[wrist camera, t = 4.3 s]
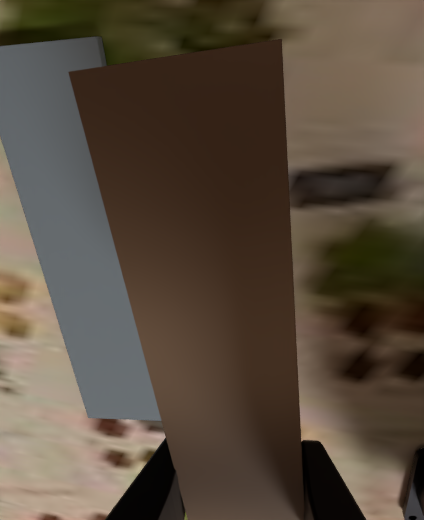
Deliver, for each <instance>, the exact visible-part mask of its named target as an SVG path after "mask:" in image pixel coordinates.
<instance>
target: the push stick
mask: <svg viewBox="0 0 424 520" xmlns="http://www.w3.org/2000/svg"><path fill="white" fill-rule="evenodd" d="M68 73H69V77H70V81H71V84H72V88H73V92H74V96H75V99H76V103H77V107H78V111H79V114H80V118H81V122H82V126H83V129H84V133H85V137H86V141H87V144H88V148H89V152H90V155H91V159H92V163H93V167H94V170H95V174H96V178H97V182H98V185H99V189H100V193H101V197H102V200H103V204H104V208H105V212H106V215H107V219H108V223H109V227H110V230H111V234H112V238H113V241H114V245H115V249H116V253H117V256H118V260H119V264H120V268H121V271H122V275H123V279H124V283H125V286H126V290H127V294H128V298H129V301H130V305H131V309H132V313H133V316H134V320H135V324H136V327H137V331H138V335H139V339H140V342H141V346H142V350H143V354H144V357H145V361H146V365H147V369H148V372H149V376H150V380H151V384H152V387H153V391H154V395H155V399H156V402H157V406H158V410H159V414H160V417H161V421H162V425H163V428H164V432H165V436H166V440H167V443H168V447H169V451H170V455H171V458H172V462H173V466H174V469H175V470H176V472H177V477H178V482H179V488H180V492H181V496H182V500H183V503H184V507H185V511H186V514H187V518H188V520H304V490H303V470H302V449H301V428H300V408H299V387H298V366H297V346H296V325H295V304H294V284H293V263H292V242H291V222H290V201H289V180H288V160H287V139H286V118H285V98H284V77H283V56H282V39H278V40H272V41H265V42H258V43H252V44H245V45H239V46H232V47H226V48H219V49H213V50H206V51H200V52H193V53H187V54H180V55H174V56H167V57H161V58H154V59H148V60H141V61H135V62H128V63H122V64H115V65H109V66H102V67H96V68H89V69H83V70H76V71H70V72H68Z"/></svg>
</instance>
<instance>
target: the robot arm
mask: <svg viewBox="0 0 424 520" xmlns="http://www.w3.org/2000/svg"><path fill="white" fill-rule="evenodd" d="M301 449H302V470H303V490H304V520H366V518H365V517H364V515H363V513H362V512H361V510H360V508H359V506H358V505H357V503H356V501H355V500H354V498H353V496H352V494H351V493H350V491H349V489H348V488H347V486H346V484H345V482H344V481H343V479H342V477H341V476H340V474H339V472H338V471H337V469H336V467H335V465H334V464H333V462H332V460H331V459H330V457H329V455H328V453H327V452H326V450H325V448H324V447H323V445H322V444H321V442H319V441H313V440H303V441H302V442H301ZM403 516H404V519H405V520H424V448H422V449H419V450H417V451H416V453H415V457H414V462H413V466H412V471H411V475H410V479H409V484H408V488H407V493H406V497H405V502H404V506H403ZM184 517H185V507H184V503H183V500H182V496H181V492H180V488H179V482H178V477H177V472H176V470H175V469H174V466H173V462H172V458H171V455H170V451H169V447H168V443H167V440H166V438H165V439H164V441H163V442H162V443H161V445H160V446H159V447H158V449H157V450H156V452H155V453H154V454H153V456H152V457H151V458H150V460H149V461H148V462H147V464H146V465H145V466H144V468H143V469H142V470H141V472H140V473H139V474H138V476H137V477H136V478H135V480H134V481H133V482H132V484H131V485H130V487H129V488H128V489H127V491H126V492H125V493H124V495H123V496H122V497H121V499H120V500H119V501H118V503H117V504H116V505H115V507H114V508H113V509H112V511H111V512H110V513H109V515H108V516H107V517H106V519H105V520H184Z"/></svg>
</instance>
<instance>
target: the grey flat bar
mask: <svg viewBox="0 0 424 520" xmlns="http://www.w3.org/2000/svg"><path fill="white" fill-rule="evenodd" d="M102 66H107V65H106V59H105V54H104V48H103V42H102V37H97V36H96V37H86V38H77V39H67V40H57V41H47V42H38V43H28V44H18V45H9V46H0V136H1V140H2V143H3V146H4V149H5V152H6V156H7V159H8V162H9V165H10V169H11V172H12V175H13V178H14V181H15V185H16V188H17V191H18V194H19V197H20V201H21V204H22V207H23V210H24V213H25V217H26V220H27V223H28V226H29V229H30V233H31V236H32V239H33V242H34V245H35V249H36V252H37V255H38V258H39V261H40V265H41V268H42V271H43V274H44V277H45V281H46V284H47V287H48V290H49V293H50V297H51V300H52V303H53V306H54V309H55V313H56V316H57V319H58V322H59V325H60V329H61V332H62V335H63V338H64V342H65V345H66V348H67V351H68V354H69V358H70V361H71V364H72V367H73V370H74V374H75V377H76V380H77V383H78V386H79V390H80V393H81V396H82V399H83V402H84V406H85V409H86V412H87V415H88V418H106V419H133V420H159V421H161V417H160V414H159V410H158V406H157V402H156V399H155V395H154V391H153V387H152V384H151V380H150V376H149V372H148V369H147V365H146V361H145V357H144V354H143V350H142V346H141V342H140V339H139V335H138V331H137V327H136V324H135V320H134V316H133V313H132V309H131V305H130V301H129V298H128V294H127V290H126V286H125V283H124V279H123V275H122V271H121V268H120V264H119V260H118V256H117V253H116V249H115V245H114V241H113V238H112V234H111V230H110V227H109V223H108V219H107V215H106V212H105V208H104V204H103V200H102V197H101V193H100V189H99V185H98V182H97V178H96V174H95V170H94V167H93V163H92V159H91V155H90V152H89V148H88V144H87V141H86V137H85V133H84V129H83V126H82V122H81V118H80V114H79V111H78V107H77V103H76V99H75V96H74V92H73V88H72V84H71V81H70V77H69V73H68V72H70V71H76V70H83V69H89V68H96V67H102Z"/></svg>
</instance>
